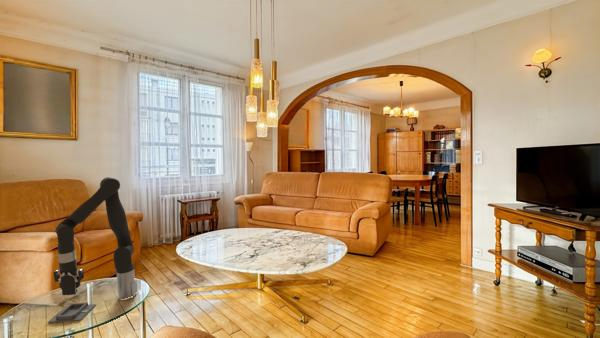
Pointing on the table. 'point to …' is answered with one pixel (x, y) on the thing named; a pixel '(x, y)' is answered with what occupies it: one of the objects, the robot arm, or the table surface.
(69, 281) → the battery
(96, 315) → the table surface
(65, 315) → the dock
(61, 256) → the robot arm
